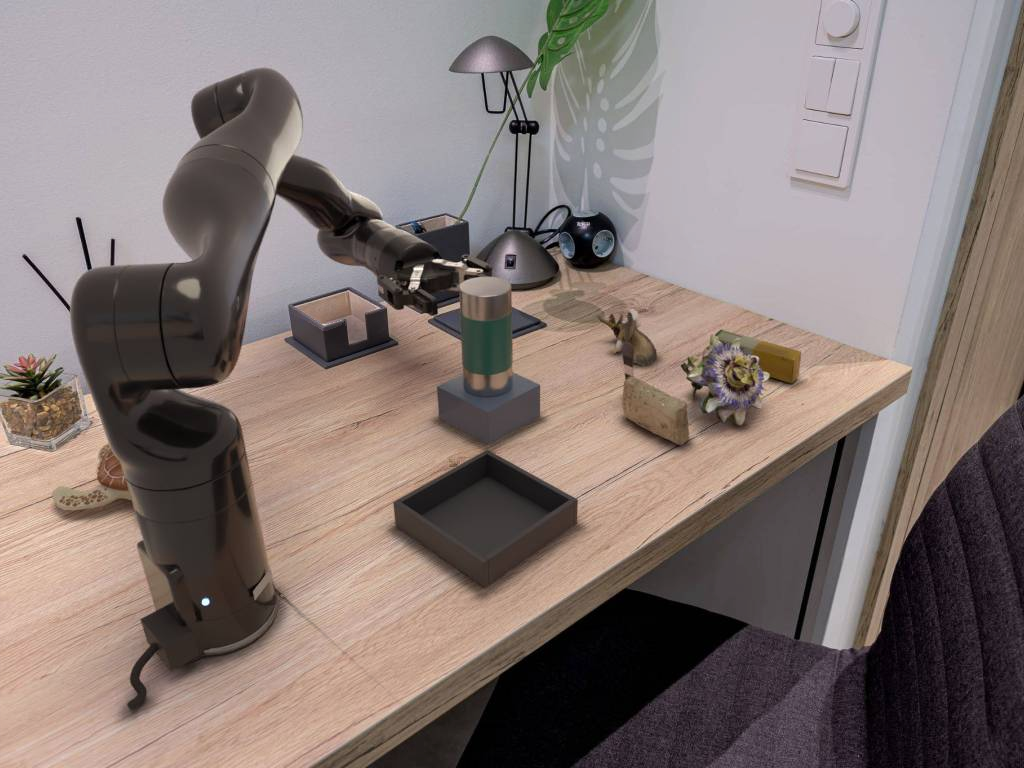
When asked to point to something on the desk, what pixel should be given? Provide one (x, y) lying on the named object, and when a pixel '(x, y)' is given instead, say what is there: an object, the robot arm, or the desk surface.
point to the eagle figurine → (632, 337)
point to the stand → (489, 408)
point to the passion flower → (727, 380)
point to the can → (486, 335)
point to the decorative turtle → (106, 493)
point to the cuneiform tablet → (654, 408)
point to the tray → (485, 516)
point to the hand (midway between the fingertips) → (465, 299)
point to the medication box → (767, 355)
